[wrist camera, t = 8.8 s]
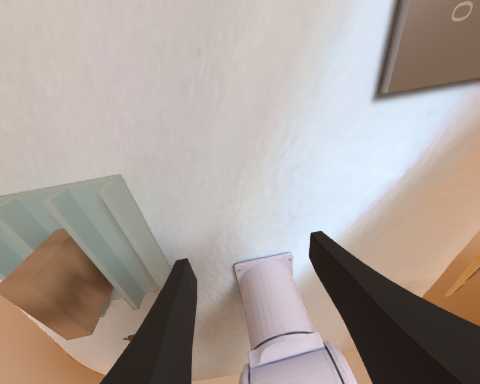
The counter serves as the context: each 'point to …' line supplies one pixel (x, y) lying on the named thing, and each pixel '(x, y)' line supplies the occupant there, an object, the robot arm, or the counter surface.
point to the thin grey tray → (432, 44)
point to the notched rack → (87, 233)
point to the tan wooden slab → (59, 287)
